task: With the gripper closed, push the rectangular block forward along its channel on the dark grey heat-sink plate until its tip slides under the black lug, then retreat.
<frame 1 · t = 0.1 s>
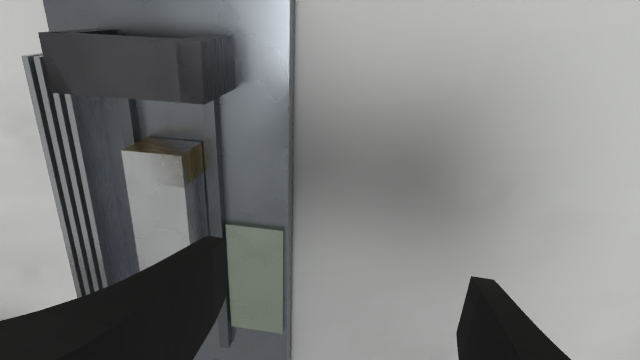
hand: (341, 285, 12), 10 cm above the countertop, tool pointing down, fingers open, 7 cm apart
rectangular block: (173, 235, 22), point 2 cm above the countertop, slide at 0.0 cm
heatsink base: (193, 238, 25), on the countertop
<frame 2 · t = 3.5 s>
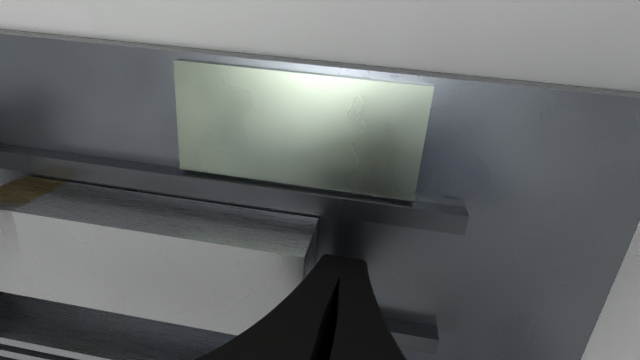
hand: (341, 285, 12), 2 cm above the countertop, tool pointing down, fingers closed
rectangular block: (150, 254, 13), point 2 cm above the countertop, slide at 1.2 cm, touching gripper
heatsink base: (255, 232, 15), on the countertop
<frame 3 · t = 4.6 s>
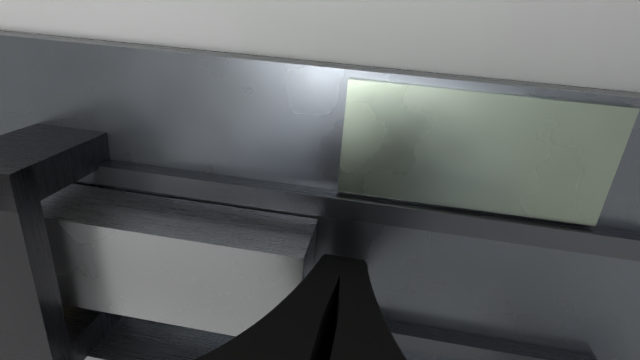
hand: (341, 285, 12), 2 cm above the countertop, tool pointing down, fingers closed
rectangular block: (149, 255, 13), point 2 cm above the countertop, slide at 6.0 cm, touching gripper
heatsink base: (394, 254, 14), on the countertop
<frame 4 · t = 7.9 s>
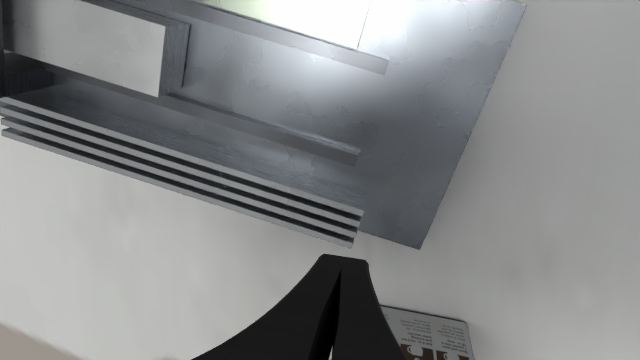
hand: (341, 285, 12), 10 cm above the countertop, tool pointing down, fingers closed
rectangular block: (69, 28, 19), point 2 cm above the countertop, slide at 6.1 cm
heatsink base: (245, 70, 20), on the countertop
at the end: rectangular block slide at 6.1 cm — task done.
